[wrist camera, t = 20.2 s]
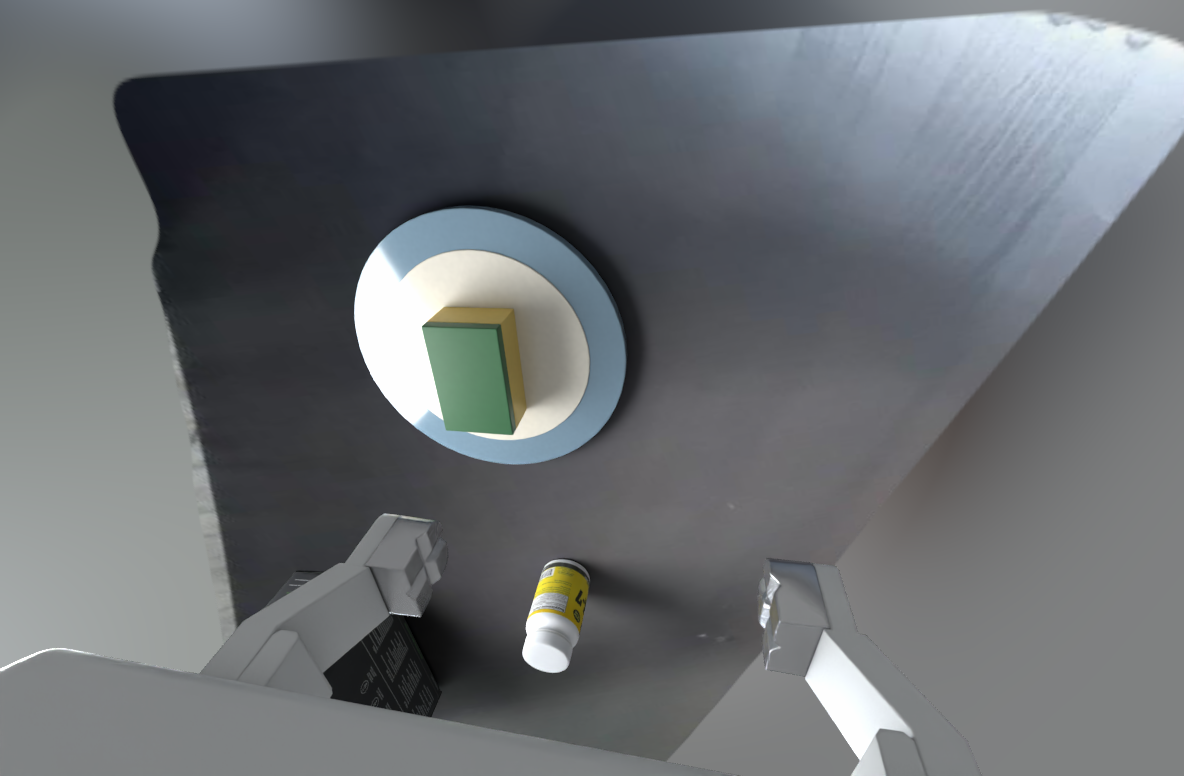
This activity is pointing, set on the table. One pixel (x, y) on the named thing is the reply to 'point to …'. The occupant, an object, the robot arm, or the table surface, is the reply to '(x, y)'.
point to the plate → (495, 280)
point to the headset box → (379, 666)
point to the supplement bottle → (556, 615)
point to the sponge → (476, 369)
